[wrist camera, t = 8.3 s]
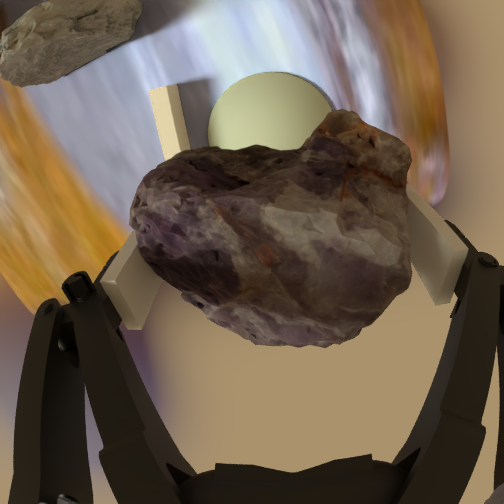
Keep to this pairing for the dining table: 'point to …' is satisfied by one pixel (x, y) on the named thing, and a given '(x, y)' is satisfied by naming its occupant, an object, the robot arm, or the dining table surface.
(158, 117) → the rail
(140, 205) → the rock
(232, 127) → the felt pad
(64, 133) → the dining table surface
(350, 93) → the dining table surface
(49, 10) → the decorative rock
